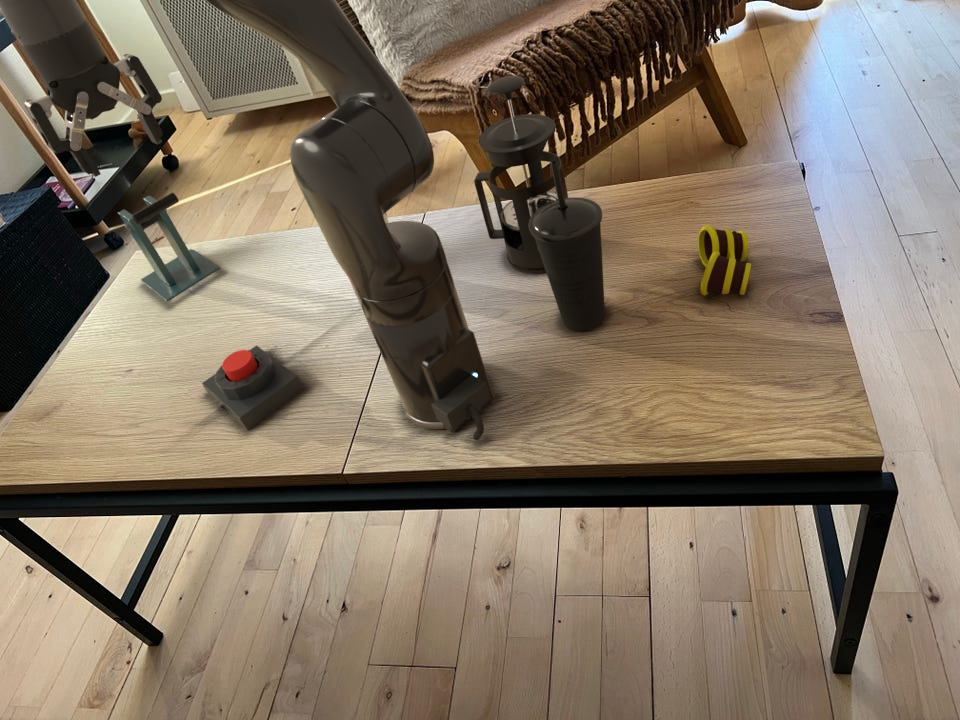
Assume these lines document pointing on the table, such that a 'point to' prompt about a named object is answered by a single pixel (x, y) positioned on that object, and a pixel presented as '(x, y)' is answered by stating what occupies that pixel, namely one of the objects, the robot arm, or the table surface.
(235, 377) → the button
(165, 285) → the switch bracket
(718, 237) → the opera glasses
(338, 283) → the table surface
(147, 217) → the lever
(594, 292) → the drinking cup
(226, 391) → the button box
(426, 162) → the robot arm
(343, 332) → the table surface
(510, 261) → the french press
